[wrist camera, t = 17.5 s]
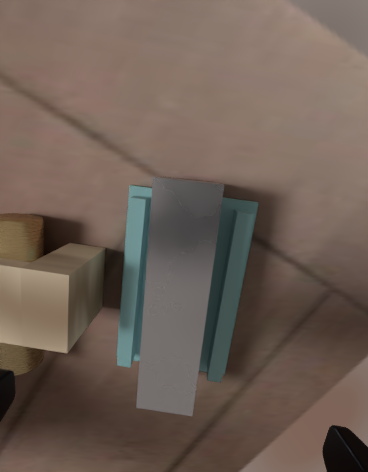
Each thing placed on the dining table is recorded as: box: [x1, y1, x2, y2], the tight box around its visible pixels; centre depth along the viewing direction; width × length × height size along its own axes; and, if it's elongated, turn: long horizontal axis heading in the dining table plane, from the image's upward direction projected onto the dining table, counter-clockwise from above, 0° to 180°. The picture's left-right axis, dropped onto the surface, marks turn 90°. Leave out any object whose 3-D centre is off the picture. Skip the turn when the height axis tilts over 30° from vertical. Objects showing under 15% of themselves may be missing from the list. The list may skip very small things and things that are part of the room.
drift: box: [0, 213, 44, 375], centre depth 15 cm, size 9×2×2 cm, turn 173°
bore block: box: [0, 243, 106, 353], centre depth 14 cm, size 4×9×4 cm, turn 83°
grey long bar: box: [136, 177, 224, 416], centre depth 13 cm, size 12×3×3 cm, turn 174°
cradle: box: [117, 185, 259, 382], centre depth 15 cm, size 7×11×2 cm, turn 173°
